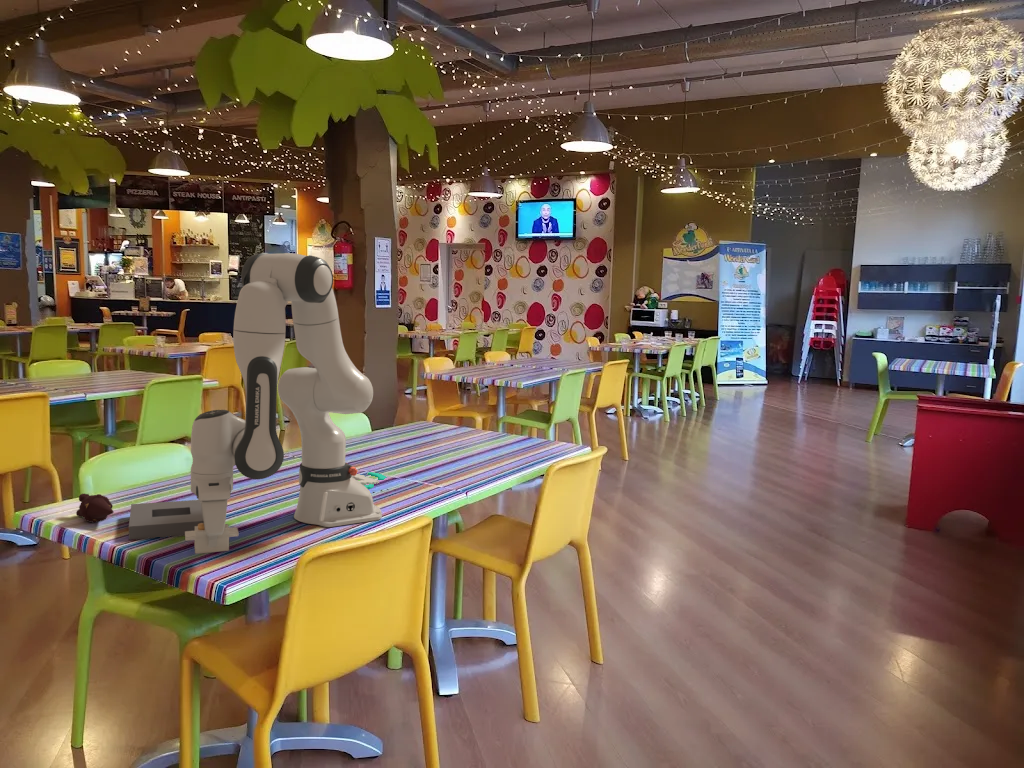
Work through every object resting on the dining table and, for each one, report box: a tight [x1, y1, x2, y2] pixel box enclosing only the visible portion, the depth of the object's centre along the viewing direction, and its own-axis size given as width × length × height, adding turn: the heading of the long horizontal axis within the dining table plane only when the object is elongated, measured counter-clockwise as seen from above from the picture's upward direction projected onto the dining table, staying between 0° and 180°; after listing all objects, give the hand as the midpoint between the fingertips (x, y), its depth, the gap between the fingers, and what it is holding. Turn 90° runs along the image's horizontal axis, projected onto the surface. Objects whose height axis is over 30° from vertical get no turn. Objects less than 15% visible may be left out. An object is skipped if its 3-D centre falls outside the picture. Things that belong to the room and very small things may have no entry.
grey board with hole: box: [128, 499, 204, 541], centre depth 182 cm, size 18×18×3 cm
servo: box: [184, 523, 240, 555], centre depth 167 cm, size 11×4×6 cm, turn 115°
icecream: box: [75, 493, 115, 524], centre depth 181 cm, size 7×7×15 cm
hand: (211, 542), depth 167 cm, fingers closed on servo, 4 cm apart
